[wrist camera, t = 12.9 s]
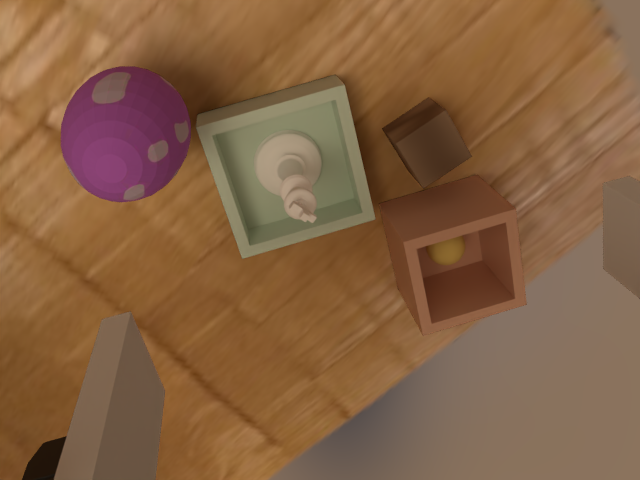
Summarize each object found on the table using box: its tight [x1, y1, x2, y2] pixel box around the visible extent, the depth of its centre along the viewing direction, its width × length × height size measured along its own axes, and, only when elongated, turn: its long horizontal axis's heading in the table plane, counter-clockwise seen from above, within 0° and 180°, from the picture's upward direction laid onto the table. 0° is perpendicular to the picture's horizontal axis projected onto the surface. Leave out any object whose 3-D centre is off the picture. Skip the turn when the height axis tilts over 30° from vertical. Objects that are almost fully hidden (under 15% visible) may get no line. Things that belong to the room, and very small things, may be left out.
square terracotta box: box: [379, 175, 526, 336], centre depth 46 cm, size 8×8×7 cm
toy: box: [61, 67, 191, 202], centre depth 35 cm, size 7×7×15 cm
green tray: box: [196, 75, 375, 259], centre depth 43 cm, size 10×10×4 cm
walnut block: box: [382, 98, 472, 188], centre depth 44 cm, size 4×4×4 cm
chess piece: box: [254, 130, 322, 223], centre depth 40 cm, size 5×5×10 cm
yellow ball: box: [426, 236, 465, 265], centre depth 47 cm, size 3×3×3 cm
